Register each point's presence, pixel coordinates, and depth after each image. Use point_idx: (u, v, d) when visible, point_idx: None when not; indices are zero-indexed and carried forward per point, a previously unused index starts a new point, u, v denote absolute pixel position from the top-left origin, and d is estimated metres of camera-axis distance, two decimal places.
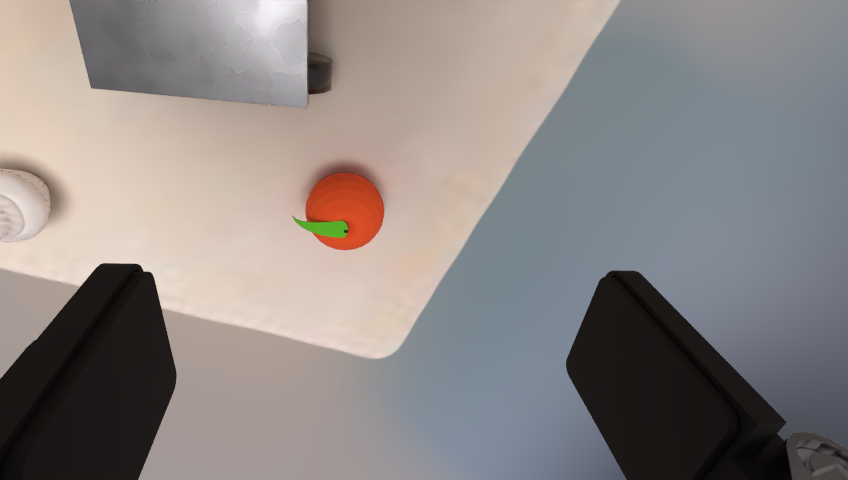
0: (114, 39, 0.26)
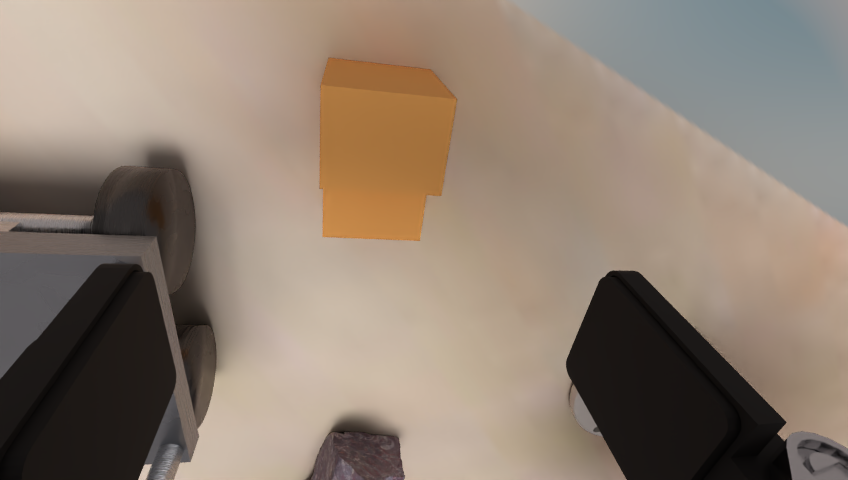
0: None
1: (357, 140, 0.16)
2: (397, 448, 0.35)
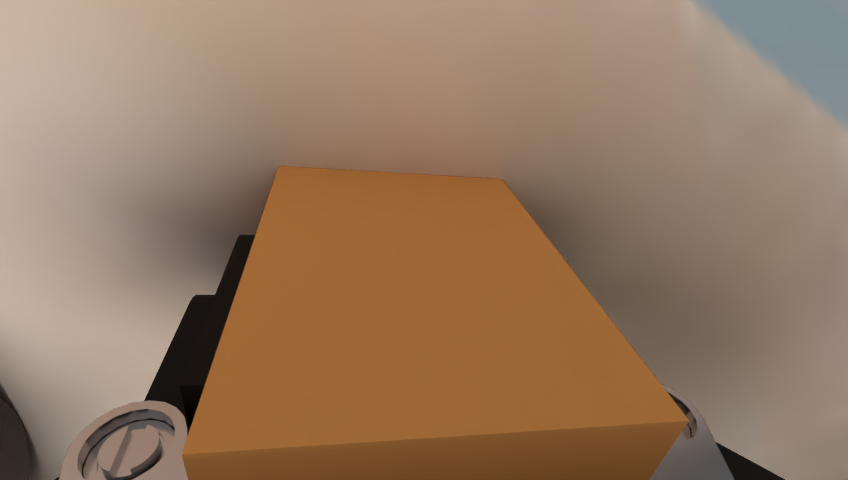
0: None
1: None
2: None
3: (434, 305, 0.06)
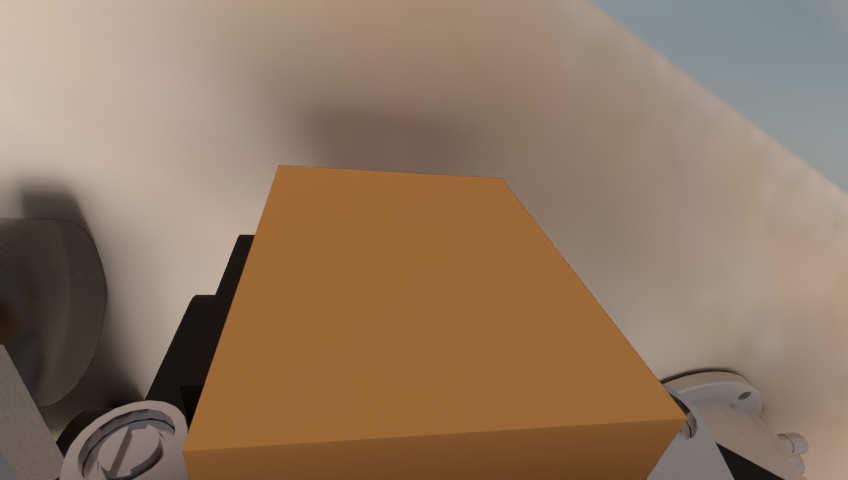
0: None
1: None
2: None
3: (434, 303, 0.06)
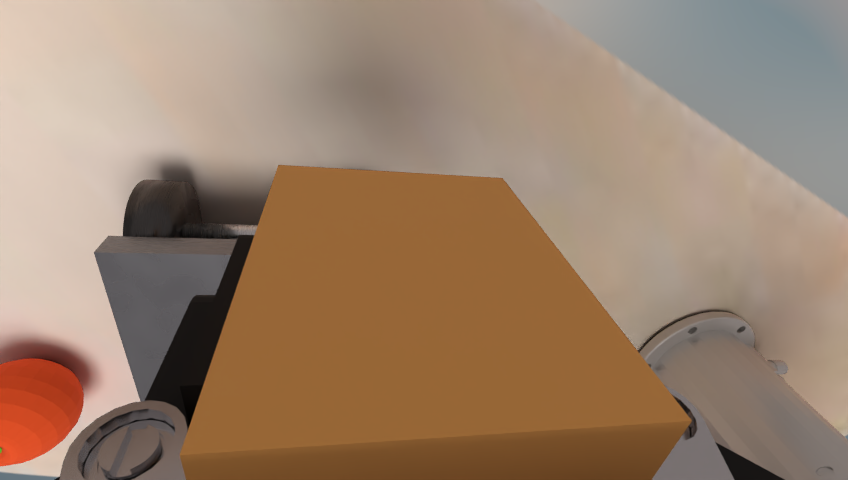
0: (170, 284, 0.22)
1: None
2: None
3: (434, 304, 0.06)
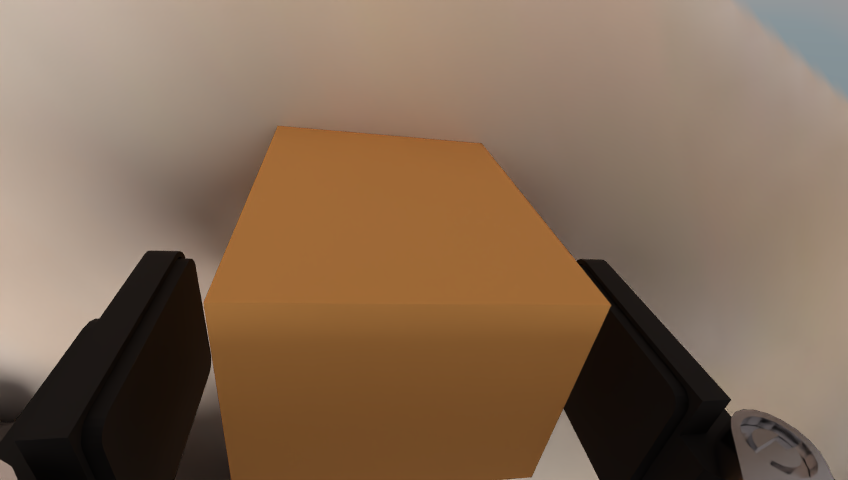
0: None
1: (328, 411, 0.06)
2: None
3: (409, 225, 0.07)
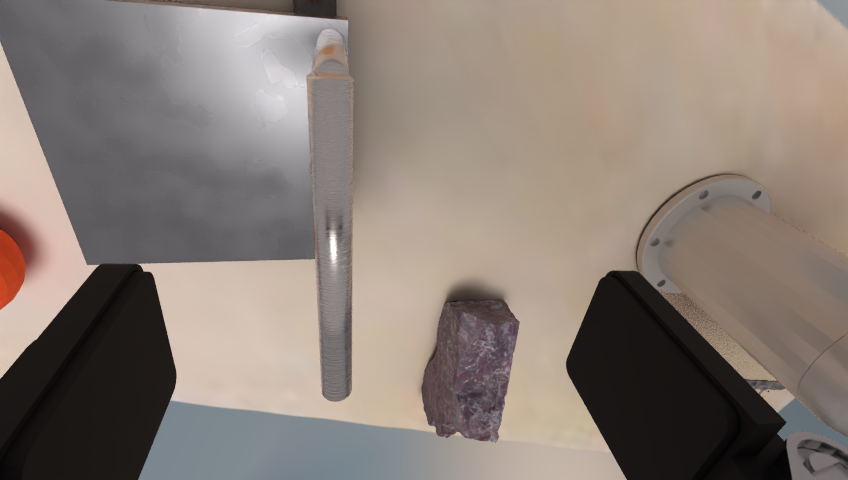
0: (84, 48, 0.18)
1: None
2: (505, 306, 0.40)
3: None
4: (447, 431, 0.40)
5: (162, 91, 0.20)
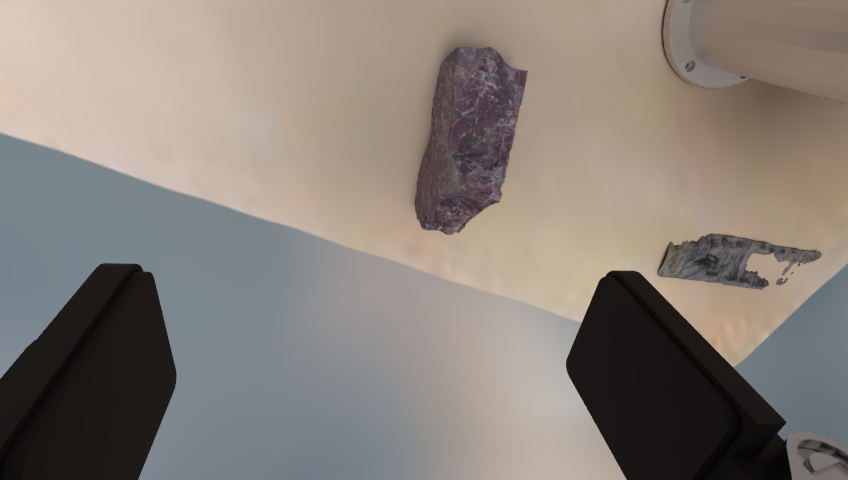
0: None
1: None
2: None
3: None
4: (442, 221, 0.34)
5: None
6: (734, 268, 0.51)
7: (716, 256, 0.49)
